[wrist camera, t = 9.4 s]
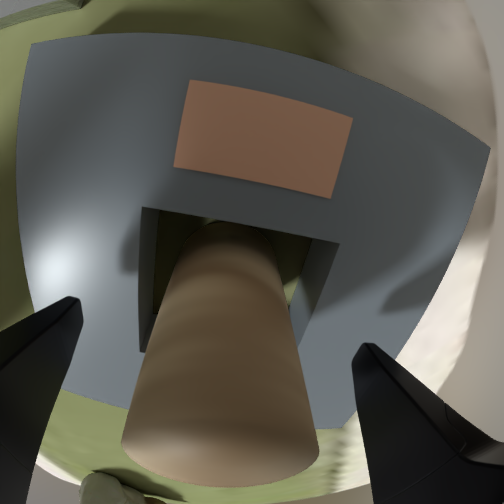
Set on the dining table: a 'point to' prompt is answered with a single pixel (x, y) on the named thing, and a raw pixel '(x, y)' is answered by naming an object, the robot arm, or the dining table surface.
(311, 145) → the hole plate
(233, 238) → the peg
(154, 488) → the dining table surface
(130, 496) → the ceramic sculpture
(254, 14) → the dining table surface
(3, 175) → the dining table surface
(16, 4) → the plate
